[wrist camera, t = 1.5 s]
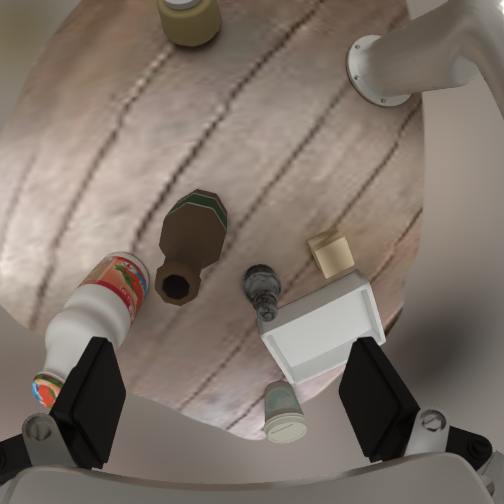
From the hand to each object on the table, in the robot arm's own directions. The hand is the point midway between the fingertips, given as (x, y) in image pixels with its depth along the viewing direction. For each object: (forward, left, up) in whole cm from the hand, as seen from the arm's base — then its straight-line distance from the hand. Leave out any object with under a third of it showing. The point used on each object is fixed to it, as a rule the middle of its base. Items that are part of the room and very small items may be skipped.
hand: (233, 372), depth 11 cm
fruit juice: (+22, +3, -36) cm, 42 cm away
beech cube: (-10, +14, -36) cm, 40 cm away
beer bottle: (+5, 0, -36) cm, 36 cm away
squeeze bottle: (-7, -26, -36) cm, 45 cm away
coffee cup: (+10, +40, -36) cm, 55 cm away
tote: (-4, +28, -36) cm, 46 cm away
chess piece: (+2, +14, -36) cm, 39 cm away
